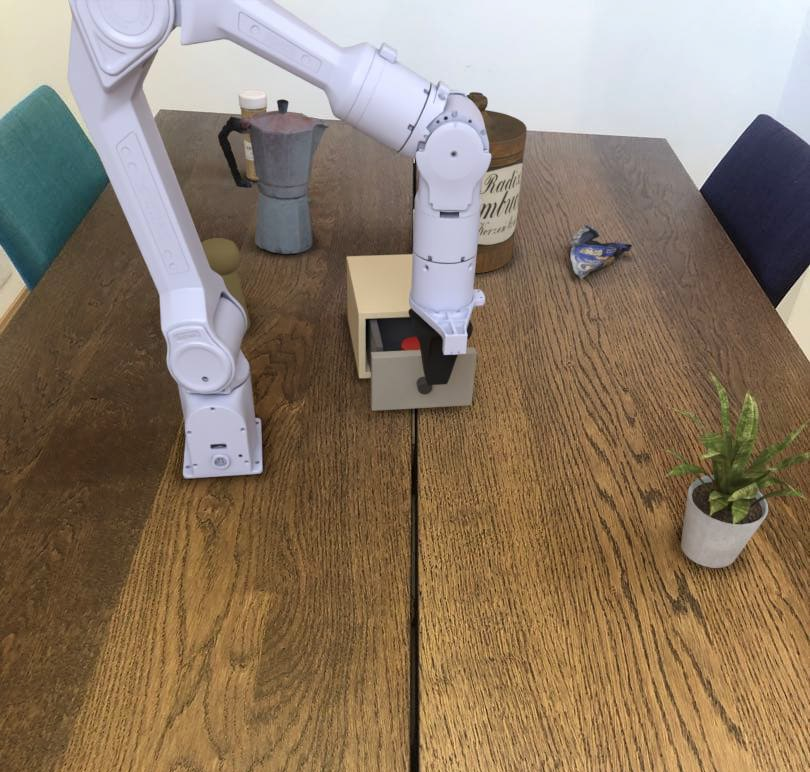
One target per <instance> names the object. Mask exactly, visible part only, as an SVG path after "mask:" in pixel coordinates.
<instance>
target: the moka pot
mask: <svg viewBox="0 0 810 772" xmlns="http://www.w3.org/2000/svg"><path fill="white" fill-rule="evenodd" d="M289 103H290V102H289V101H288V100H286V99H282V98H281V99H278V100H276V104H277V110H269V111H267V112H264V113H258V114H254V115H253V117H252V118H242V117H241V118H239V117H235V116H230V117H229V119H228V120H226V122H225V124H224V125H223V126H222V127H221V130H220V131H219V132H218V135H217V138H218V143H219V146H220V147H221V150H222V152H223V155H224V158H225V159H226V162H227V166H228V168H229V169H230V173H231V176H232V178H233V180H234V182H235V185H236V187H239V188H246V189H248V188H252V185H253V184H254V181H253V180H251V179H247V180H246V179H243V178H242V175H241V172H240V170H239V169H238V164H237V159H236V157H235V155H234V152H233V150H232V146H231V142H230V141H229V139H228V138H229V135H230V134H231V133H232V132H236V133H238V134H241V135H243V134H249V135H250V140H251V146H252V152H253V158H254V165H255V172H256V176H257V177H258V178H259V179H258V181H257V183H256V185H257V188H258V190H259V193H258V199H257V212H256V213H257V214H256V223H255V234H254V244H255V245H256V246H257V247H258V248H260V249H262V250H265V251H267V252H269V253H274V254H280V255H284V254H285V255H291V254H299V253H304V252H306V251H308V250H310V249H311V248H312V247H313V245H314V243H313V242H314V237H313V227H312V226H313V225H312V218H311V209H310V205H311V204H312V199H311V197H310V196H309V193H308V192H309V186H310V179H311V176H312V169H313V168H312V167H313V162H314V161H313V160H314V157H315V154H316V152H317V150H318V147H319V146H320V145H319V144H320V142H321V140H322V138H323V136H324V133H325V132H326V130H327V129H328V128H329V125H328V124H327V123H326V122H325V121H323V120H322V119H320V118H317V117H312V116H308V115H306V114H304V113H302V112H295V111H288V109H289Z"/></svg>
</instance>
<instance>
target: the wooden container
mask: <svg viewBox="0 0 810 772" xmlns="http://www.w3.org/2000/svg"><path fill="white" fill-rule="evenodd" d="M466 96H467V98H468V99H470V100H471V101H472V102H473V103H474V104H475V105H476V106H477V108H478V109H479V111H480V113H481V115H482V117H483V121H484V125H485V129H486V133H487V137H488V141H489V153H490V154H491V161H490V165H489V167H488V169H487V171H486V173H485V175H484V176H483V177H482V188H481V191H480V197H481V212H480V223H479V234H478V245H477V255H476V266H475V274H479V273H480V274H483V273H488V272H491V271H495V270H497V269H501V268H502V267H504V266H506V265H507V264H508V263H509V262H510V261H511V258H512V254H513V249H514V241H515V234H516V228H517V227H516V226H517V222H518V221H517V219H518V214H519V213H518V212H519V205H520V196H521V195H520V194H521V184H522V175H523V165H524V156H525V147H526V141H527V133H528V132H527V130H528V129H527V126H526V124H525V123H524V122H523V121H522V120H520V119H519V118H517V117H514V116H511V115H509V114H506V113H503V112H498V111H495V110H489V109H487V108H488V103H489V101H488V97H487V96H485V95H484V94H483V93H482V92H477V91H471V92H469V94H467V95H466ZM417 174H418V175H417V188H416V192H417V191H418V185H419V171H418V173H417Z"/></svg>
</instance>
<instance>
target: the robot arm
mask: <svg viewBox="0 0 810 772" xmlns="http://www.w3.org/2000/svg"><path fill="white" fill-rule="evenodd" d="M68 5H69V8H70V13H71V22H70V24H71V25H70V37H69V51H68V64H67V82H68V84H69V89H70V92H71V94H72V96H73V99H74V101H75V103H76V107H77V108H78V110H79V113H80V115H81V118H82V120H83V122H84V124H85V127H86V129H87V131H88V134H89V136H90V138H91V140H92V143H93V145H94V148H95V149H96V153H97V154H98V157H99V159H100V161H101V164H102V166H103V168H104V170H105V172H106V175H107V177H108V179H109V182H110V184H111V187H112V189H113V191H114V194H115V196H116V198H117V200H118V203H119V205H120V207H121V209H122V212H123V214H124V217H125V219H126V221H127V223H128V226H129V228H130V230H131V232H132V235H133V237H134V240H135V242H136V244H137V247H138V249H139V251H140V253H141V256H142V258H143V260H144V262H145V264H146V267H147V269H148V272H149V274H150V276H151V278H152V281H153V283H154V286H155V288H156V290H157V293H158V297H159V312H160V313H159V314H160V315H159V316H160V329H161V332H162V335H163V337H164V340H165V343H166V346H167V347H166V350H167V351H166V358H165V359H166V366H167V370H168V372H169V374H170V375H171V377H172V379H173V380H174V381H175V382H176V384H177V388H178V389H177V390H178V393H179V394H178V395H179V399H180V406H181V411H182V415H183V420H184V434H185V440H184V452H183V453H184V454H183V465H182V466H183V467H182V476H183V478H184V479H204V478H216V477H232V476H233V477H234V476H247V475H259V474H261V473H263V472H264V468H263V439H262V437H263V434H262V432H263V431H262V419H261V418H259V417H256V411H255V403H254V393H253V385H252V384H253V383H252V377H251V367H250V364H249V362H248V359H247V358H246V356H245V354H244V353H243V351H242V349H241V345H242V343H243V338H244V337H245V336H246V334H247V333H246V332H247V331H248V330H247V316H246V313H245V311H244V309H243V307H242V306H241V305H240V303H239V302H238V301H237V300H236V299H235V298H234V297H233V296H232V295H231V294H230V293H229V291H228V290H227V288H226V286H225V283H224V281H223V278H222V277H221V276H220V275H219V274H217V273H216V272H214V271H213V270H212V269H211V268H210V265H209V263H208V260H207V257H206V255H205V252H204V249H203V247H202V244H201V243H202V242H201V239H200V236H199V234H198V232H197V229H196V226H195V223H194V221H193V220H194V219H193V218H192V215H191V213H190V210H189V207H188V204H187V202H186V199H185V196H184V195H183V192H182V189H181V186H180V184H179V181H178V179H177V175H176V173H175V170H174V168H173V165H172V162H171V160H170V157H169V155H168V152H167V149H166V146H165V144H164V141H163V138H162V136H161V133H160V131H159V128H158V125H157V123H156V120H155V118H154V114H153V112H152V109H151V107H150V104H149V101H148V99H147V96H146V94H145V91H144V88H143V85H144V82H145V80H146V78H147V76H148V74H149V72H150V69H151V67H152V65H153V63H154V60H155V59H156V56H157V55H158V52H159V49H160V48H161V47H162V46H163V45H164V44H165V43H166V41H167V40H168V38H169V37H170V35H171V34H172V32H174V30H175V29H176V28H179V27H180V45H181V46H191V45H196V44H203V43H209V42H214V41H221V40H227V41H230V42H232V43H234V44H235V45H237V46H239V47H242V48H243V49H245V50H247V51H248V52H251V53H252V54H254V55H256V56H258V57H260V58H262V59H263V60H265V61H268V62H269V63H270V64H273V65H275V66H277V67H278V68H281V69H283V70H284V71H286V72H288V73H290V74H292V75H293V76H296V77H298V78H300V79H301V80H303V81H304V82H306V83H309V84H310V85H312V86H314V87H316V88H318V89H320V90H322V91H323V92H324V94H325V95H326V97H327V100H328V103H329V107H330V109H331V113H332V115H333V117H334V118H336V119H338V120H340V121H341V122H343V123H345V124H346V125H348V126H350V127H352V128H353V129H355V130H356V131H358V132H360V133H362V134H363V135H365V136H367V137H368V138H371V139H372V140H373V141H376V142H377V143H378V144H381V145H382V146H384V147H386V148H387V149H389V150H390V151H392V152H394V153H396V154H397V155H399V156H401V157H404V158H411V159H412V160H413V159H414V160H415V161H416V166H417V169H418V172H419V185H418V184H417V186H418V191H417V190H416V193H415V197H414V210H413V237H412V254H413V258H412V286H411V291H410V293H409V305H410V307H411V309H409V312H408V313H409V316H410V320H411V323H412V326H413V329H414V332H415V334H416V337H417V339H418V340H419V344H420V350H421V357H422V364H423V370H424V375H425V378H426V381H427V384H428V385H443V384H447V383H448V381H449V379H450V376H451V373H452V370H453V367H454V364H455V361H456V359H457V356H458V354H466V348H468V346H467V345H468V340H469V339H470V338H471V337H472V335H473V331H474V325H473V323H472V321H471V318H472V314H473V310H474V308H475V307H483V306H484V305H485V303H486V296H485V294H484V292H483V291H482V289H475V288H474V287H475V286H474V285H475V277H476V276H475V275H476V273H475V266H476V255H477V245H478V234H479V223H480V212H481V197H480V191H481V188H482V177H483V176H484V175H485V173H486V171H487V169H488V167H489V165H490V161H491V154H490V153H489V141H488V137H487V133H486V129H485V125H484V121H483V117H482V115H481V113H480V111H479V109H478V108H477V106H476V105H475V104H474V103H473V102H472V101H471V100H470V99H468V98H467V96H466V93H465V92H464V91H462V90H457V89H451V87H450V85H448V84H447V83H446V82H444V81H442V80H439V81H438V82H437V84H435V83H433V82H431V81H430V80H428V79H426V77H423V76H421V75H420V74H419V73H417V72H416V71H414V70H412V69H410V68H409V67H407V66H406V65H404V64H403V63H401V62H400V61H398V60H397V58H398V50H397V49H396V48H395V47H393V46H391V45H390V44H388V43H387V42H385V41H384V42H382V43H381V45H380V47H379V48H378V47H375V46H374V45H372V44H371V43H370V42H368V41H365V42H360V43H357V44H355V45H350V46H345V47H343V46H340V45H339V44H338V43H336V42H334V41H333V40H332V39H331V38H329V37H328V36H326V35H324V33H322V32H320V31H318V30H317V29H315V28H314V27H313V26H312V25H310V24H308V23H307V22H305V21H304V20H303V19H301V18H299V17H298V16H297V15H295V14H293V12H291V11H289V10H288V9H286V8H285V7H283V6H282V5H280V4H279V3H278V2H276V1H275V0H68ZM246 330H247V331H246Z"/></svg>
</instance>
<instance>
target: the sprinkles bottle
mask: <svg viewBox="0 0 810 772" xmlns="http://www.w3.org/2000/svg"><path fill="white" fill-rule="evenodd" d="M238 104H239V109H240V115H241V118H252V117H253V115H254V114H258V113H264V112H268V111H267V109H268V98H267V94H266V93H265V92H264V91H262V90H258V89H247V90H243V91H240V92H239V93H238ZM242 141H243V152H244V158H245V167H246V174H245V176H246V178H247V179H248V180H251V181H257V182H258V179H259V178H258V177H257V176H256V172H255V165H254V158H253V152H252V146H251V140H250V135H249V134H242Z"/></svg>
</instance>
